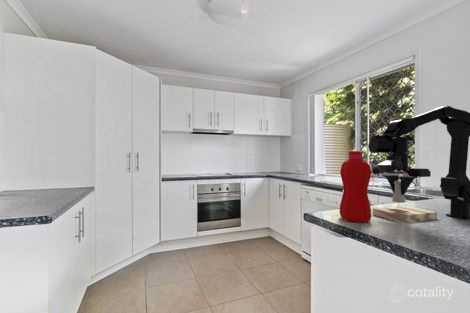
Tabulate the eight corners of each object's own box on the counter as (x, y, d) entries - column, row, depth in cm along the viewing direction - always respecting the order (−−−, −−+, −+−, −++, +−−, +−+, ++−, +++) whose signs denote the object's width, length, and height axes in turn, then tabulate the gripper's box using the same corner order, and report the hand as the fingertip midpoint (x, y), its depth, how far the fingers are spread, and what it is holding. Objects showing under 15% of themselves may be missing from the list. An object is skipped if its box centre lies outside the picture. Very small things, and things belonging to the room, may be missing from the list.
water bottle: (379, 223, 81) (380, 150, 81) (347, 223, 82) (347, 150, 82) (366, 217, 90) (367, 151, 90) (337, 216, 91) (337, 151, 91)
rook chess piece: (408, 203, 87) (408, 181, 87) (394, 202, 88) (394, 181, 88) (402, 200, 92) (402, 180, 92) (389, 200, 93) (389, 179, 93)
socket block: (404, 211, 100) (404, 205, 100) (437, 218, 88) (437, 212, 88) (372, 214, 94) (372, 208, 94) (402, 222, 82) (402, 215, 82)
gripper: (362, 153, 96) (362, 191, 96) (409, 152, 79) (409, 199, 79) (382, 153, 100) (382, 190, 100) (431, 152, 82) (431, 197, 82)
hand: (398, 194), depth 90 cm, fingers closed on rook chess piece, 3 cm apart
